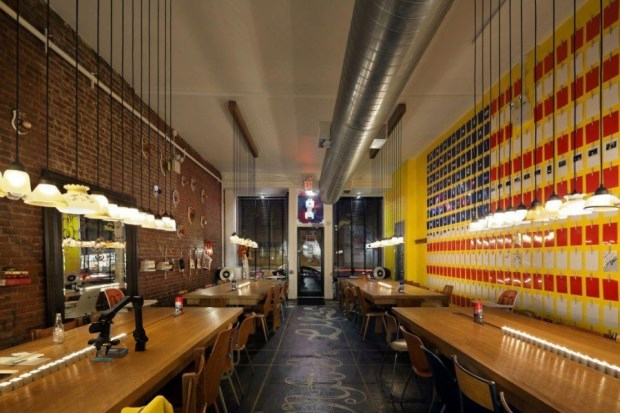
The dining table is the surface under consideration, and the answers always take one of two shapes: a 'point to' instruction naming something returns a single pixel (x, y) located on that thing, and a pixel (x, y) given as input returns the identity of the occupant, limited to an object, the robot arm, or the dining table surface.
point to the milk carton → (110, 331)
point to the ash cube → (102, 353)
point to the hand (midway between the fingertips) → (102, 355)
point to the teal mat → (102, 359)
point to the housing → (115, 352)
